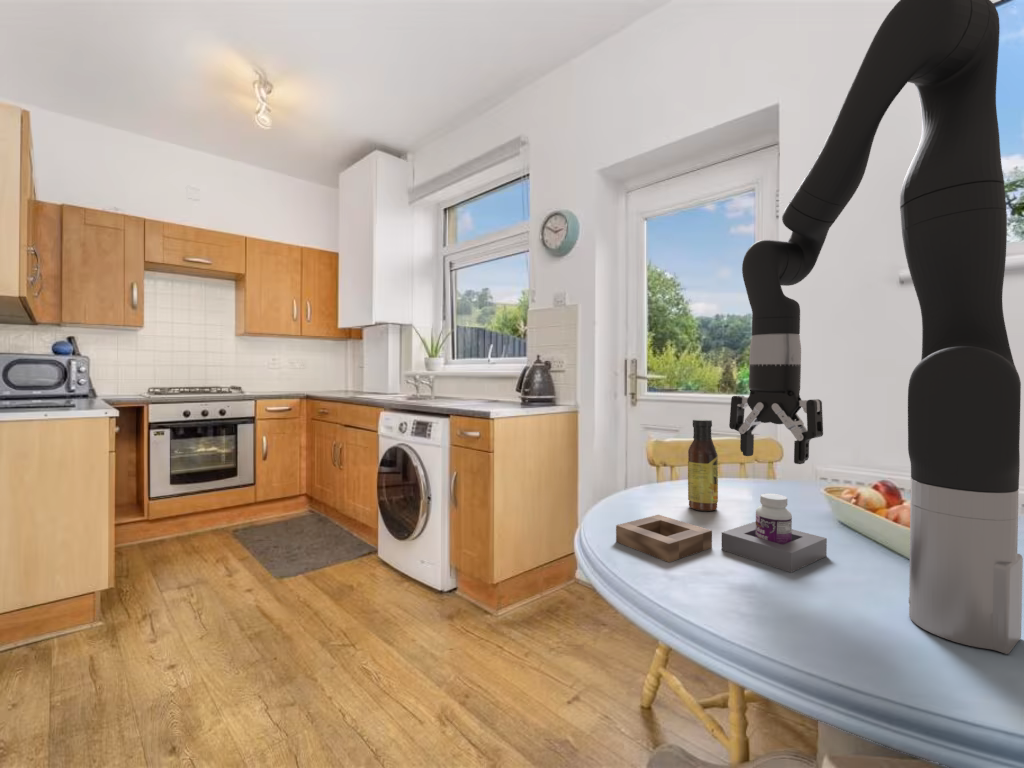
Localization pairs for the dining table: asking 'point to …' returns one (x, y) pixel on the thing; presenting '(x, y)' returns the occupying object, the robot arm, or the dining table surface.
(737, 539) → the grey square frame
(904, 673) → the dining table surface
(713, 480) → the sauce bottle
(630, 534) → the dock
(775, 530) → the pill bottle
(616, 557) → the dining table surface
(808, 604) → the dining table surface
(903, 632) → the dining table surface
